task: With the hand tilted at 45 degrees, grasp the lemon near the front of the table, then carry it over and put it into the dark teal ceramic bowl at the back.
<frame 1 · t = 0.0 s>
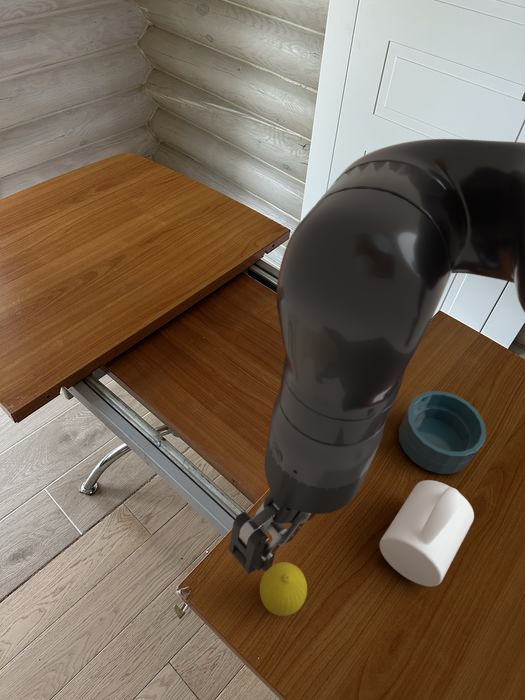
hand: (294, 530, 48), 21 cm above the table, tool pointing down, fingers open, 8 cm apart
bowl: (433, 443, 81), on the table
lemon: (279, 599, 64), on the table
mug: (417, 544, 70), on the table
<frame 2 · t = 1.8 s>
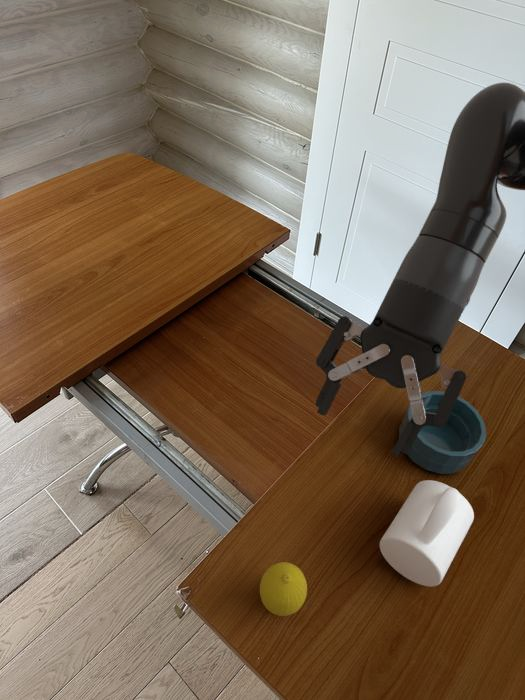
hand: (357, 433, 54), 23 cm above the table, tool tilted 45°, fingers open, 8 cm apart
nothing on the table moved.
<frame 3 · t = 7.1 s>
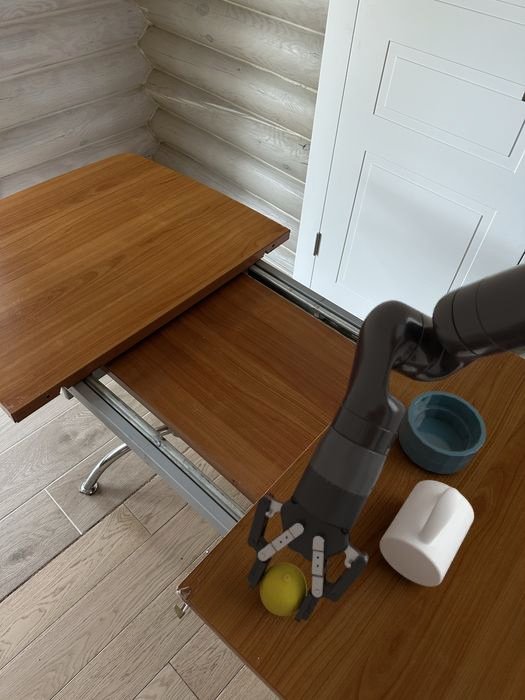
hand: (275, 601, 59), 4 cm above the table, tool tilted 45°, fingers closed on lemon, 5 cm apart
lemon: (279, 599, 64), on the table, touching gripper
everything else where it was.
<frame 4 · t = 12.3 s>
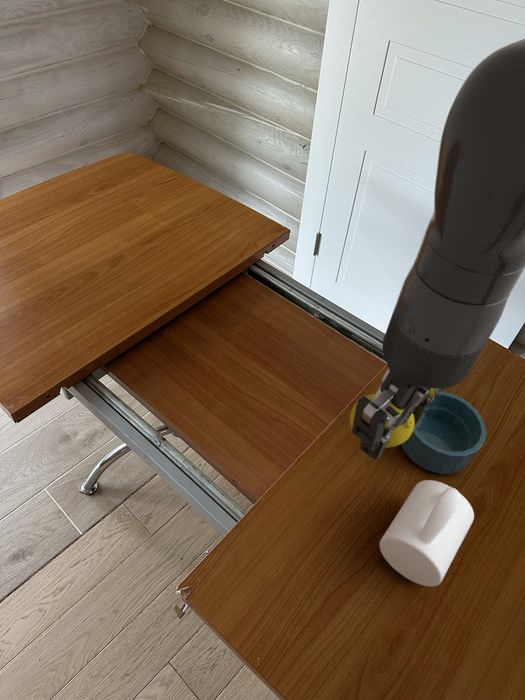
hand: (388, 434, 53), 23 cm above the table, tool pointing down, fingers closed on lemon, 5 cm apart
lemon: (353, 418, 57), point 21 cm above the table, touching gripper
everything else where it was.
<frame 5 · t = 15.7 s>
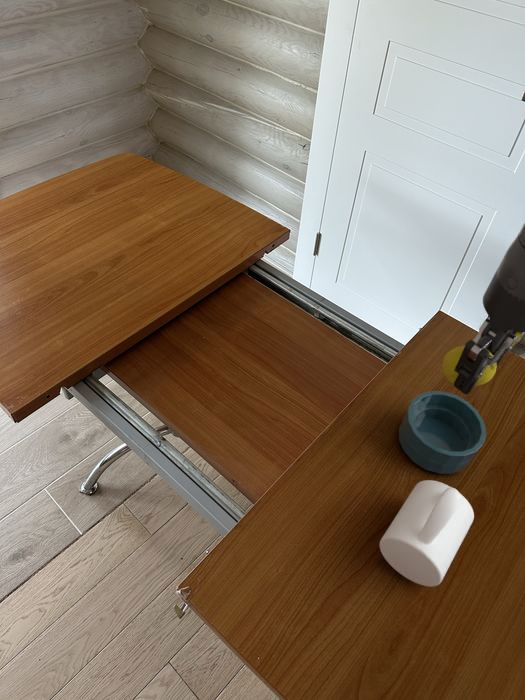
hand: (474, 377, 68), 17 cm above the table, tool pointing down, fingers closed on lemon, 5 cm apart
lemon: (442, 366, 72), point 15 cm above the table, touching gripper
everything else where it was.
when the fingers open (7 cm above the table, at t = 18.5 s): lemon drops 1 cm, resting on bowl.
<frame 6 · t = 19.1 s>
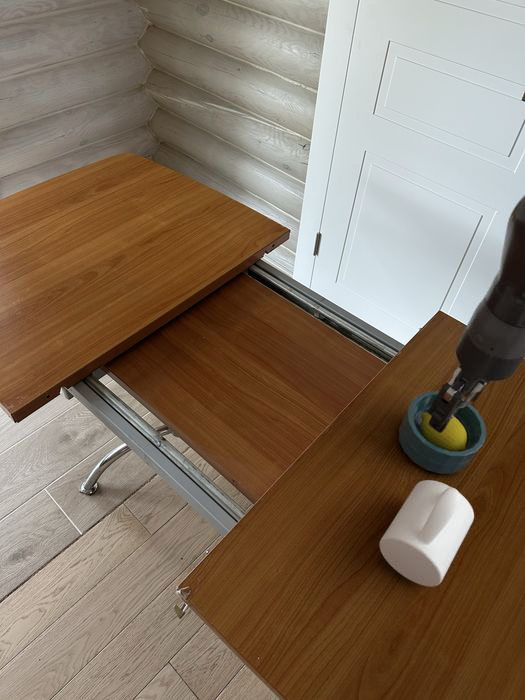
hand: (452, 412, 74), 9 cm above the table, tool pointing down, fingers open, 8 cm apart
lemon: (421, 412, 80), point 4 cm above the table, touching bowl
everything else where it was.
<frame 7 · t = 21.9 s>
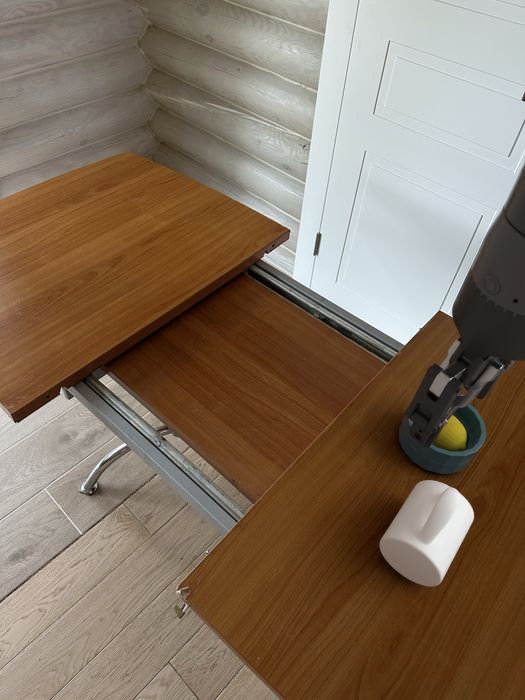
hand: (448, 414, 47), 30 cm above the table, tool pointing down, fingers open, 8 cm apart
nothing on the table moved.
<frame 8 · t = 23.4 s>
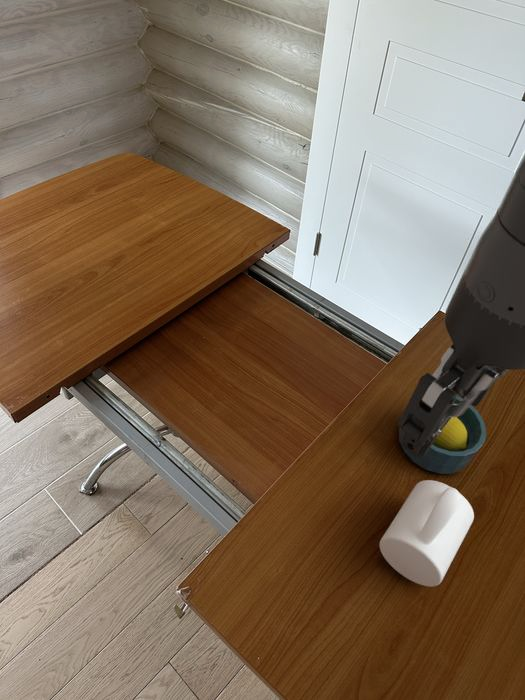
hand: (441, 422, 46), 30 cm above the table, tool pointing down, fingers open, 8 cm apart
nothing on the table moved.
at the end: lemon inside the target area in the bowl (4.0 cm from its centre), point 3.6 cm above the bowl's base; the gripper is holding nothing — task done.
